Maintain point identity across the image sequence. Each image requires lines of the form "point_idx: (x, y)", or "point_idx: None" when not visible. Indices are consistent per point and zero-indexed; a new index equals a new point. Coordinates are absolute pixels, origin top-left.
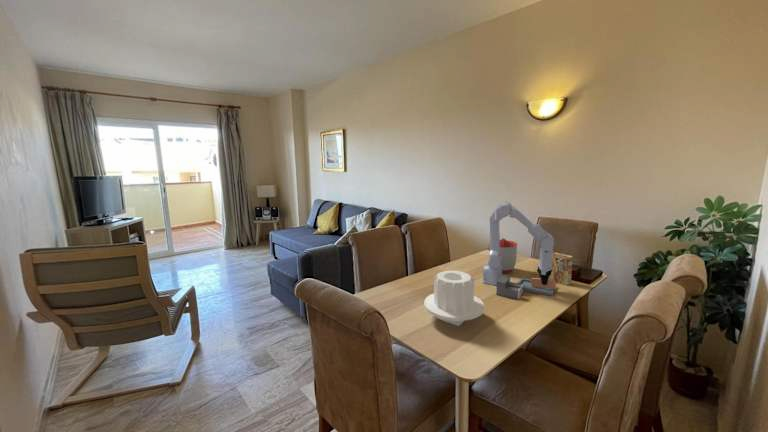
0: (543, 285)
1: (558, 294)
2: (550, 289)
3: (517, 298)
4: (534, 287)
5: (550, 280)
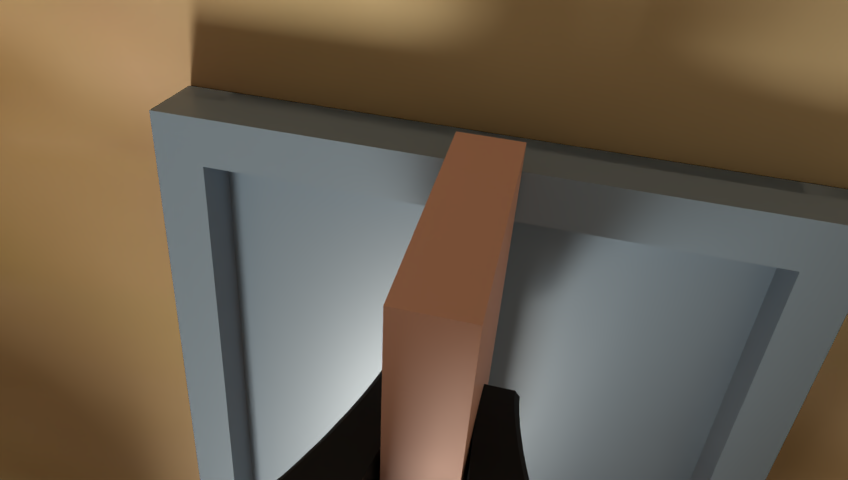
0: None
1: (668, 34)
2: None
3: None
4: None
5: (467, 418)
